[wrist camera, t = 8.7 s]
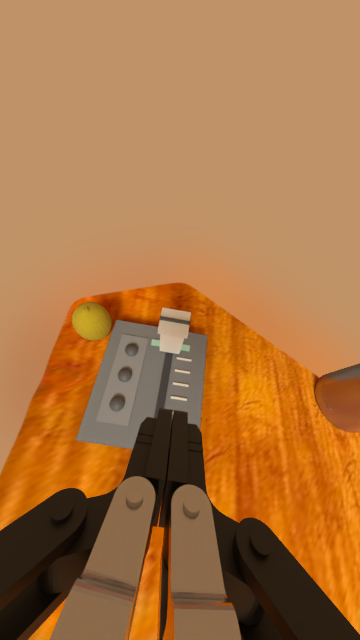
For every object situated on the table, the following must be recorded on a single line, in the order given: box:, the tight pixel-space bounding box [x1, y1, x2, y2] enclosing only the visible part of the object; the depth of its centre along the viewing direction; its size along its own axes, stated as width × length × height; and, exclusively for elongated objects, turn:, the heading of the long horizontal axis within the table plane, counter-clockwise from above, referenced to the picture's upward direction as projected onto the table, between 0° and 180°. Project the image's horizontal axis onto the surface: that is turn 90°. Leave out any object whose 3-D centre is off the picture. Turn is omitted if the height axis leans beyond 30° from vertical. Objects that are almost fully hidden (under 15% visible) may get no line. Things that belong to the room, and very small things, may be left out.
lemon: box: [72, 302, 112, 340], centre depth 32 cm, size 6×6×8 cm
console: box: [76, 320, 207, 449], centre depth 31 cm, size 16×18×3 cm
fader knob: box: [158, 308, 191, 354], centre depth 29 cm, size 4×3×8 cm
